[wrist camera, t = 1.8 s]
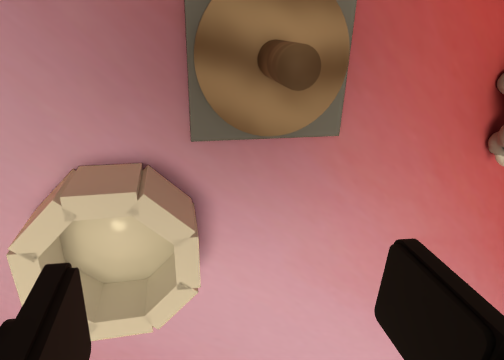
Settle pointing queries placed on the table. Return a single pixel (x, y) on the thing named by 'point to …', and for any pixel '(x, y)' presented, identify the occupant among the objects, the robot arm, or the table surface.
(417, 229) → the table surface
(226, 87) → the lid
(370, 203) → the table surface
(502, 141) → the hippopotamus figurine
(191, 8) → the mat
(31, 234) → the bowl
